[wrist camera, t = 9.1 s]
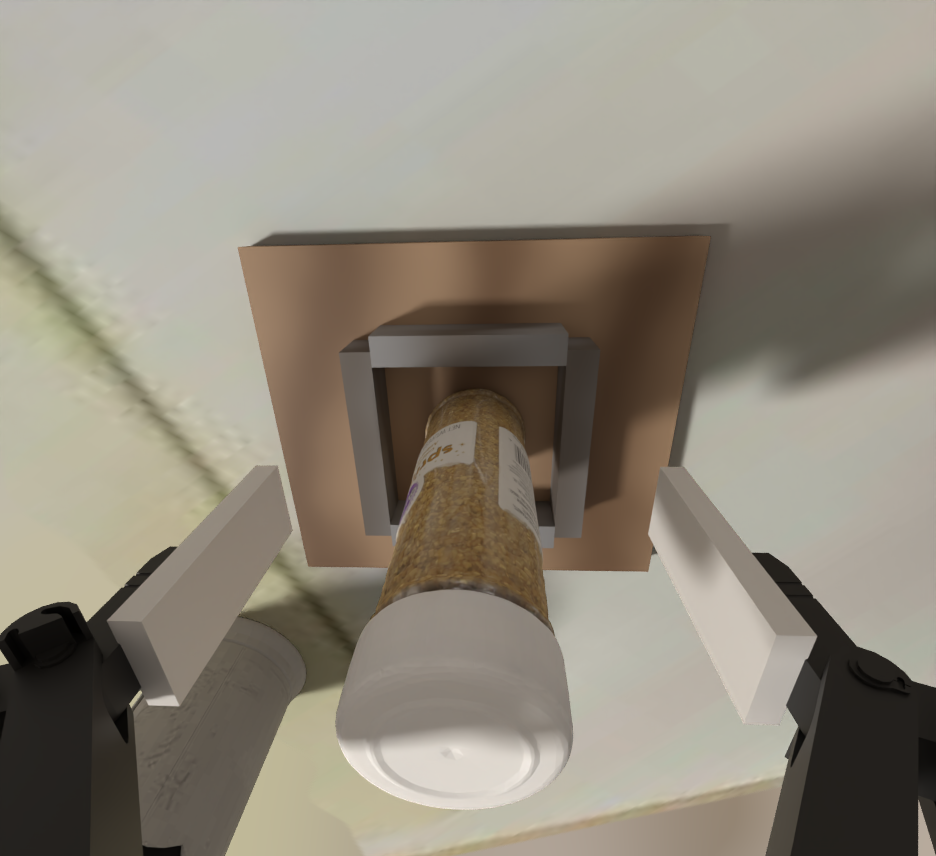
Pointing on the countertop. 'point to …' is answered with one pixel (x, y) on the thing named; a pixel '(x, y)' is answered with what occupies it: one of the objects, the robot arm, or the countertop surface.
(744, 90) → the countertop surface
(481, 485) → the sprinkles bottle
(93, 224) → the countertop surface
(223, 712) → the grey mug
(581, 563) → the socket board
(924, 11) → the countertop surface
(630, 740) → the countertop surface
